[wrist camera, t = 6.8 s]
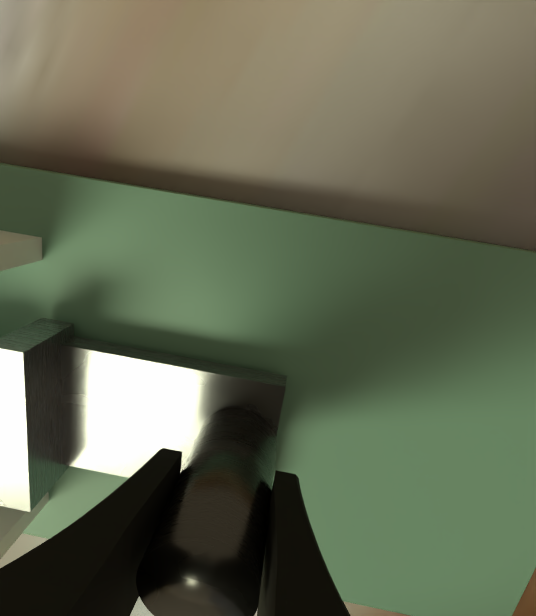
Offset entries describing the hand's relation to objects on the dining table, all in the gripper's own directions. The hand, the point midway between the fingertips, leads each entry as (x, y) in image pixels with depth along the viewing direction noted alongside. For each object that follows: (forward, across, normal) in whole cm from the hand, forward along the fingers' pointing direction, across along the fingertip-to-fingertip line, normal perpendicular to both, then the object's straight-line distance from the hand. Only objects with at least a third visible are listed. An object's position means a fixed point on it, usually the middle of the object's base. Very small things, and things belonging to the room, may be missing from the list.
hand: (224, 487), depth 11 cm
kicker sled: (+3, +3, 0) cm, 4 cm away
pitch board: (+4, 0, 0) cm, 4 cm away
